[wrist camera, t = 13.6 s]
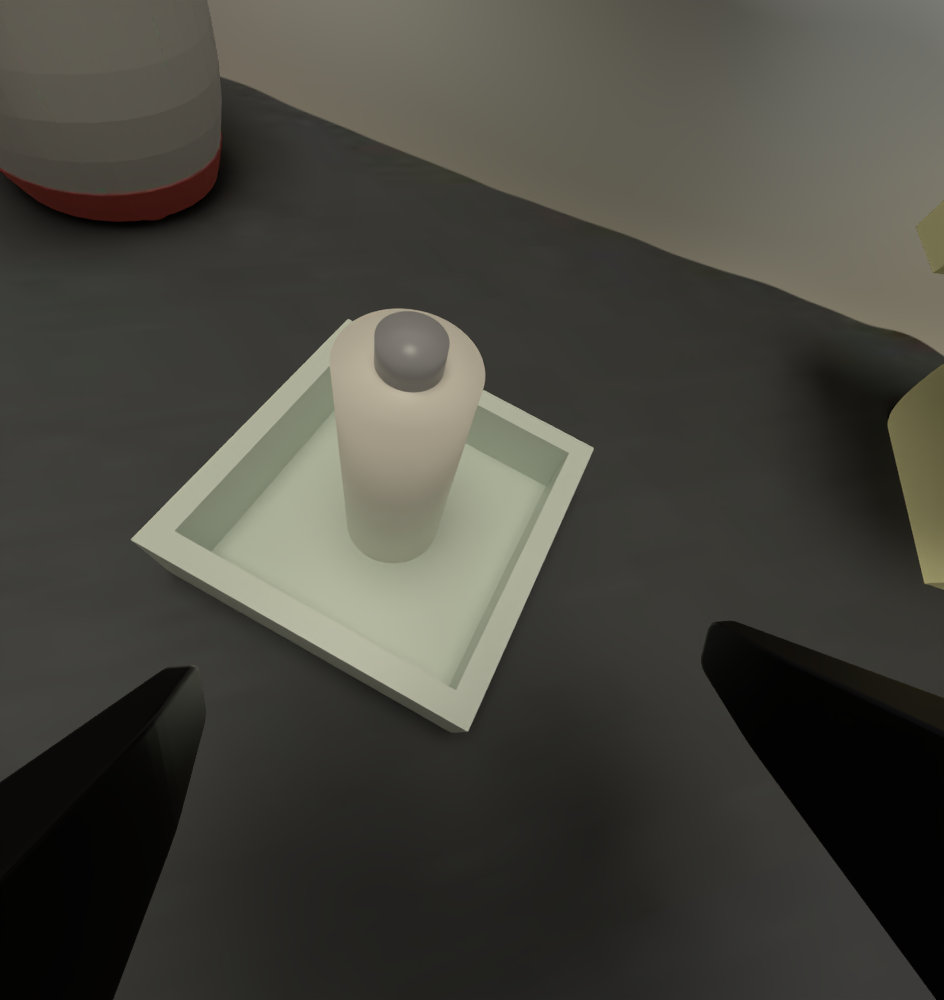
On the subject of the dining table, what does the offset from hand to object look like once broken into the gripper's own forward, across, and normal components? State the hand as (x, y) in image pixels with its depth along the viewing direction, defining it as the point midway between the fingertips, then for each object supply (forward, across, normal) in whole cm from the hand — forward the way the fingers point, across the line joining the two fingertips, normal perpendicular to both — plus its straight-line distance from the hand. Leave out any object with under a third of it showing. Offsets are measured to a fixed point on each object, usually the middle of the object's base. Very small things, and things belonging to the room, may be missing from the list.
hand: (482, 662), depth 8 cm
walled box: (+16, +1, +4) cm, 16 cm away
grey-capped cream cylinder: (+15, +1, +3) cm, 16 cm away
